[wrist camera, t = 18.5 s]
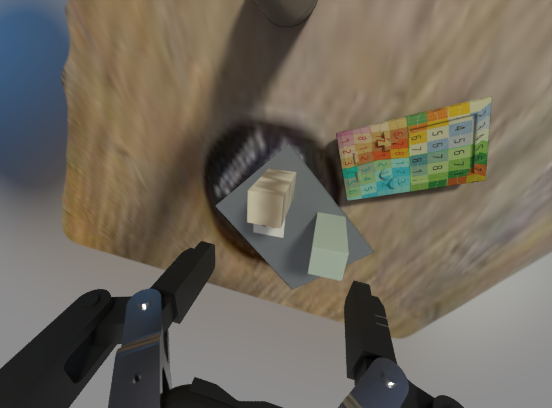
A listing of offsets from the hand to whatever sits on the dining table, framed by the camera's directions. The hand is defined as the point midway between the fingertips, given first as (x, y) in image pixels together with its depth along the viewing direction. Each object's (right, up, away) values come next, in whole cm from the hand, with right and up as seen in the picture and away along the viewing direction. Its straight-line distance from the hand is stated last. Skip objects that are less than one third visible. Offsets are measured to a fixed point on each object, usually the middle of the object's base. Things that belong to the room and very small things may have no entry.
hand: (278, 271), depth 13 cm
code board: (+3, -1, +36) cm, 36 cm away
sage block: (+11, -1, +33) cm, 35 cm away
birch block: (+1, +8, +32) cm, 33 cm away
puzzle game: (+21, +13, +25) cm, 35 cm away
